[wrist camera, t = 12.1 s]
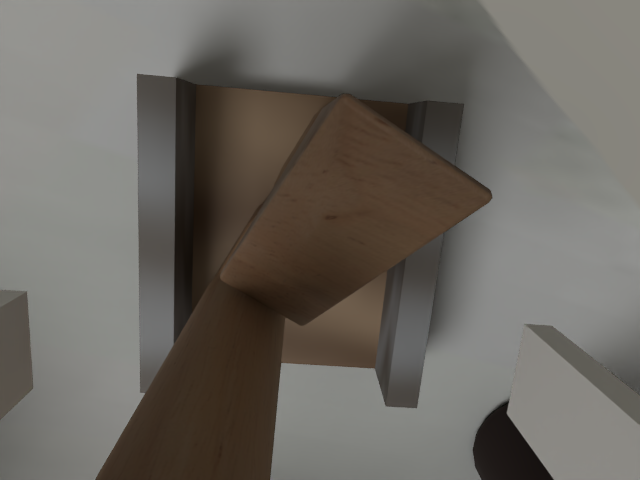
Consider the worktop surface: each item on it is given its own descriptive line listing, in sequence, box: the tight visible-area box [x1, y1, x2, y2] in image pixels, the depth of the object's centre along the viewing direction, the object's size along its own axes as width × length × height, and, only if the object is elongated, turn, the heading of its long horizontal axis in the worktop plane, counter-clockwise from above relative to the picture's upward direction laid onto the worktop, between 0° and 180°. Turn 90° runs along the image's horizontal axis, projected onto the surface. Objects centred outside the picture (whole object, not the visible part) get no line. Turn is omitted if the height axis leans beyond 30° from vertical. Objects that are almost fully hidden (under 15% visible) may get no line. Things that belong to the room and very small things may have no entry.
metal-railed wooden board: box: [137, 74, 464, 408], centre depth 22 cm, size 14×13×4 cm
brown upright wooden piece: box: [95, 94, 492, 480], centre depth 15 cm, size 4×11×18 cm, turn 147°
